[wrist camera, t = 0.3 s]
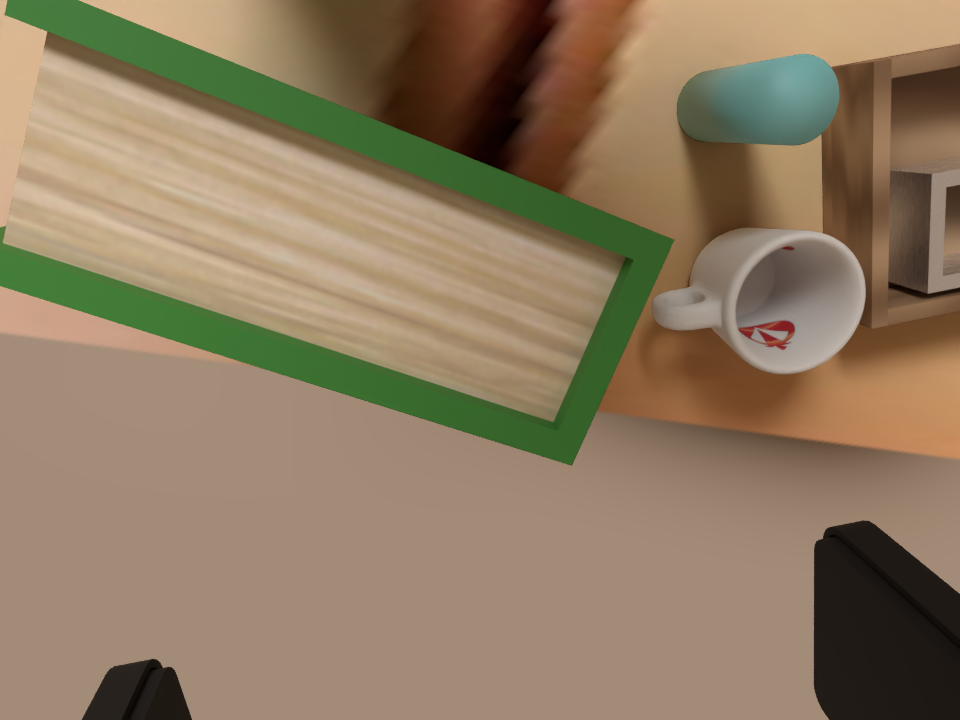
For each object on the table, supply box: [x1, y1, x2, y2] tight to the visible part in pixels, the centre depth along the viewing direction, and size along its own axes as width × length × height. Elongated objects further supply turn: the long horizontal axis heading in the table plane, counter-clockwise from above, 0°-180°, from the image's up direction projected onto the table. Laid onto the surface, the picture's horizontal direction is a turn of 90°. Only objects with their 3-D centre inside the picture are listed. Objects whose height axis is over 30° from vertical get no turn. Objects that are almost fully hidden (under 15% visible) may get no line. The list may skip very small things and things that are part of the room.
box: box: [822, 44, 960, 329], centre depth 44 cm, size 15×14×5 cm
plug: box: [677, 54, 839, 145], centre depth 38 cm, size 4×4×10 cm
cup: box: [652, 228, 866, 374], centre depth 43 cm, size 11×8×8 cm
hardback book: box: [0, 0, 674, 465], centre depth 31 cm, size 18×7×24 cm, turn 69°
